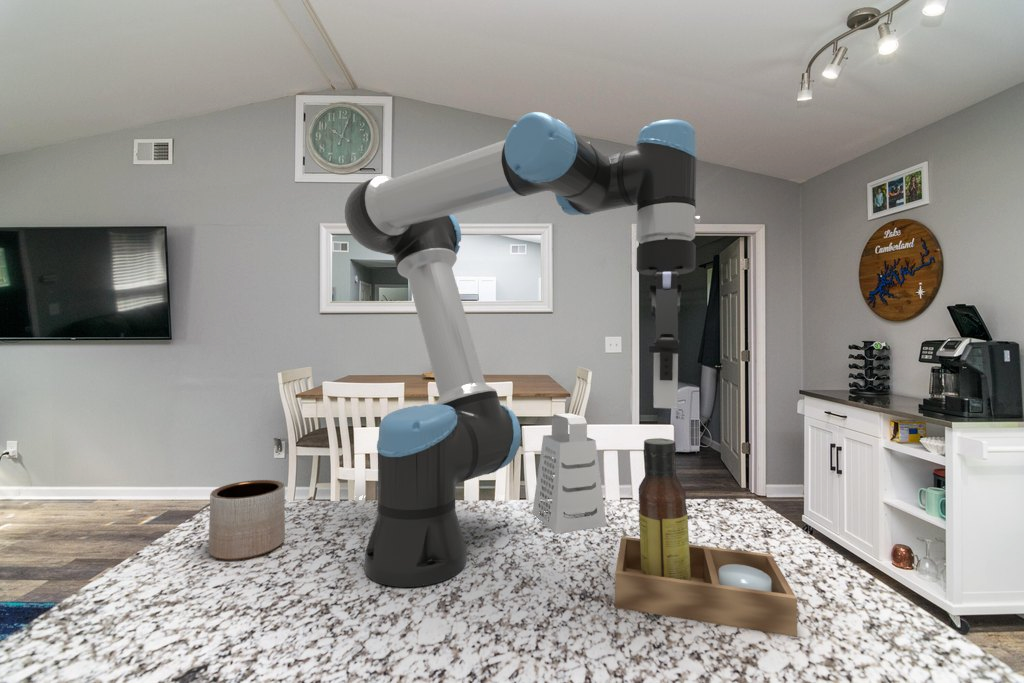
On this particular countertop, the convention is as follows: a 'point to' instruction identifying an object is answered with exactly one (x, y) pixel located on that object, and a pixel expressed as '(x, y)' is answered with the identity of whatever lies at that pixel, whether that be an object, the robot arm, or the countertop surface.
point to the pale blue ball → (744, 577)
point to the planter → (246, 519)
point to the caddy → (707, 590)
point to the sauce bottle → (663, 514)
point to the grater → (569, 477)
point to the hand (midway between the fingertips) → (664, 401)
